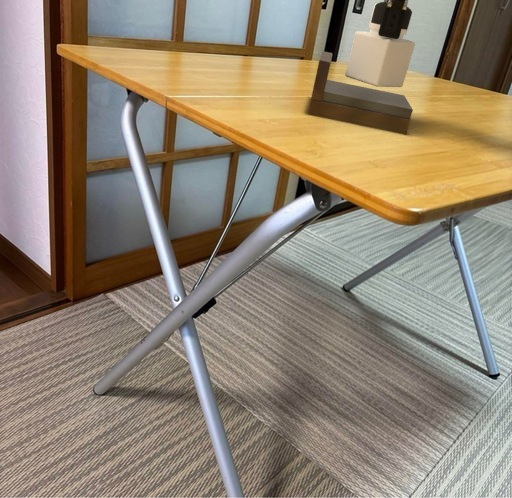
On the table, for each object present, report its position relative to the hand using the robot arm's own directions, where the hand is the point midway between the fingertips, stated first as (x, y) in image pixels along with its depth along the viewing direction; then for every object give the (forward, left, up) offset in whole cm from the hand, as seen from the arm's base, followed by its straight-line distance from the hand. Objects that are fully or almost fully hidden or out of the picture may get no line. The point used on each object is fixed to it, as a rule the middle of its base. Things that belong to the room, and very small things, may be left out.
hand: (386, 34), depth 82 cm
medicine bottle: (0, 0, -8) cm, 8 cm away
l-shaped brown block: (+1, 0, -13) cm, 14 cm away
